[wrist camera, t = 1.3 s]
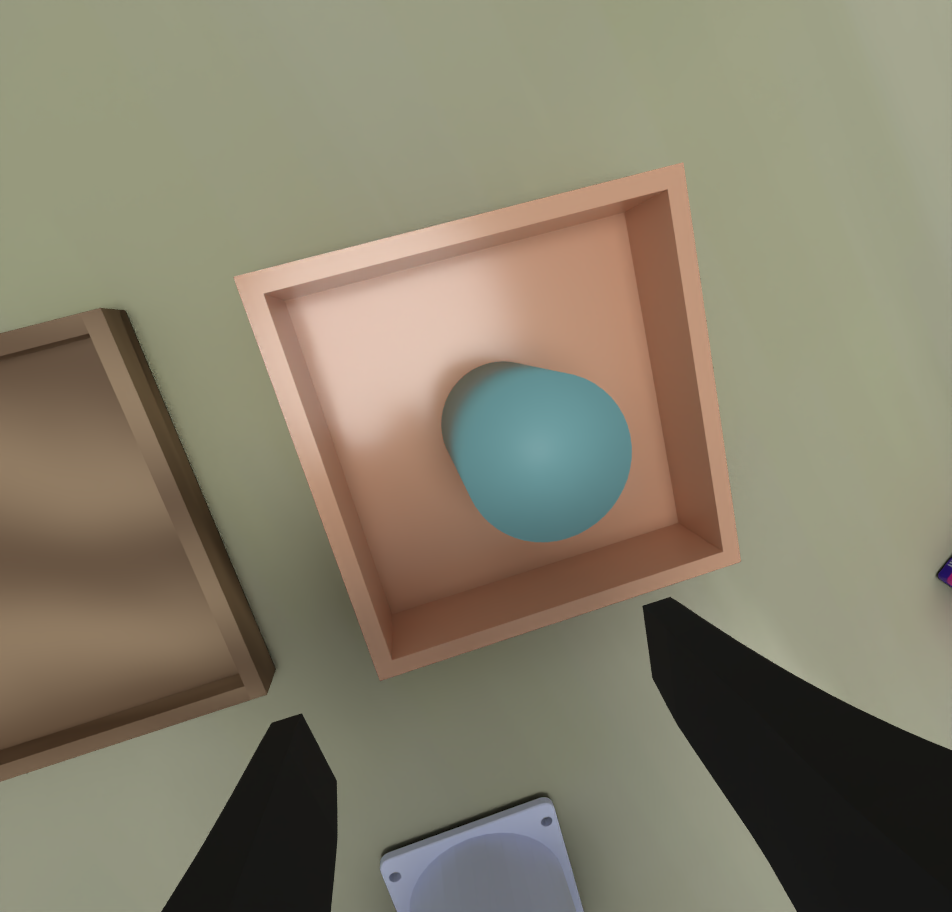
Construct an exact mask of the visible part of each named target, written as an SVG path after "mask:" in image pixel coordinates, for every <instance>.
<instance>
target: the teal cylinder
mask: <svg viewBox="0 0 952 912" xmlns="http://www.w3.org/2000/svg"><path fill="white" fill-rule="evenodd" d="M441 429H442V436H443V441H444V443H445V446H446V449H447V451H448V453H449V455H450V457H451V459H452V461H453V463H454V465H455V467H456V469H457V471H458V473H459V475H460V477H461V479H462V481H463V483H464V485H465V487H466V490H467V492H468V494H469V496H470V498H471V499H472V501H473V503H474V505H475V507H476V508H477V509H478V511H479V512H480V514H481V515H482V516H483V517H484V518H485V519H486V520H487V521H488V522H489V523H490V524H491V525H493V526H494V527H495V528H496V529H498V530H500V531H501V532H503V533H505V534H507V535H509V536H512V537H514V538H517V539H521V540H524V541H531V542H553V541H559V540H563V539H567V538H570V537H573V536H575V535H578V534H580V533H582V532H584V531H585V530H587V529H589V528H590V527H592V526H593V525H595V524H596V523H597V522H598V521H600V520H601V519H602V518H603V517H604V516H605V515H606V514H607V513H608V512H609V511H610V509H611V508H612V507H613V506H614V504H615V503H616V501H617V500H618V498H619V497H620V495H621V493H622V491H623V489H624V487H625V484H626V482H627V479H628V475H629V472H630V467H631V460H632V444H631V436H630V432H629V428H628V425H627V422H626V420H625V417H624V415H623V413H622V412H621V410H620V408H619V406H618V405H617V404H616V403H615V401H614V400H613V399H612V397H611V396H609V395H608V394H607V393H606V392H605V391H604V390H603V389H602V388H600V387H599V386H597V385H596V384H595V383H593V382H591V381H589V380H587V379H585V378H582V377H579V376H576V375H573V374H568V373H563V372H558V371H553V370H548V369H544V368H539V367H534V366H529V365H524V364H519V363H514V362H506V361H501V362H492V363H488V364H485V365H482V366H479V367H477V368H475V369H473V370H471V371H470V372H469V373H467V374H466V375H464V376H463V377H462V378H461V379H460V380H459V381H458V382H457V383H456V385H455V386H454V387H453V389H452V390H451V392H450V393H449V395H448V397H447V399H446V402H445V405H444V408H443V412H442V420H441Z"/></svg>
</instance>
